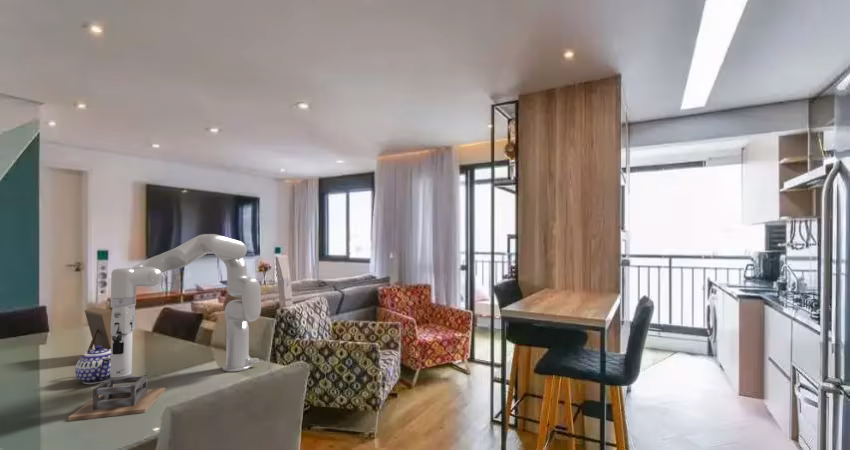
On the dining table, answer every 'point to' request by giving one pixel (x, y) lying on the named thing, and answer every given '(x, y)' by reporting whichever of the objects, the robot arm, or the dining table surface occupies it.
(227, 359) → the robot arm
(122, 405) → the collar stand
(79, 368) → the teapot
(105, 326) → the photo frame
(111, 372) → the travel mug
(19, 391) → the dining table surface
